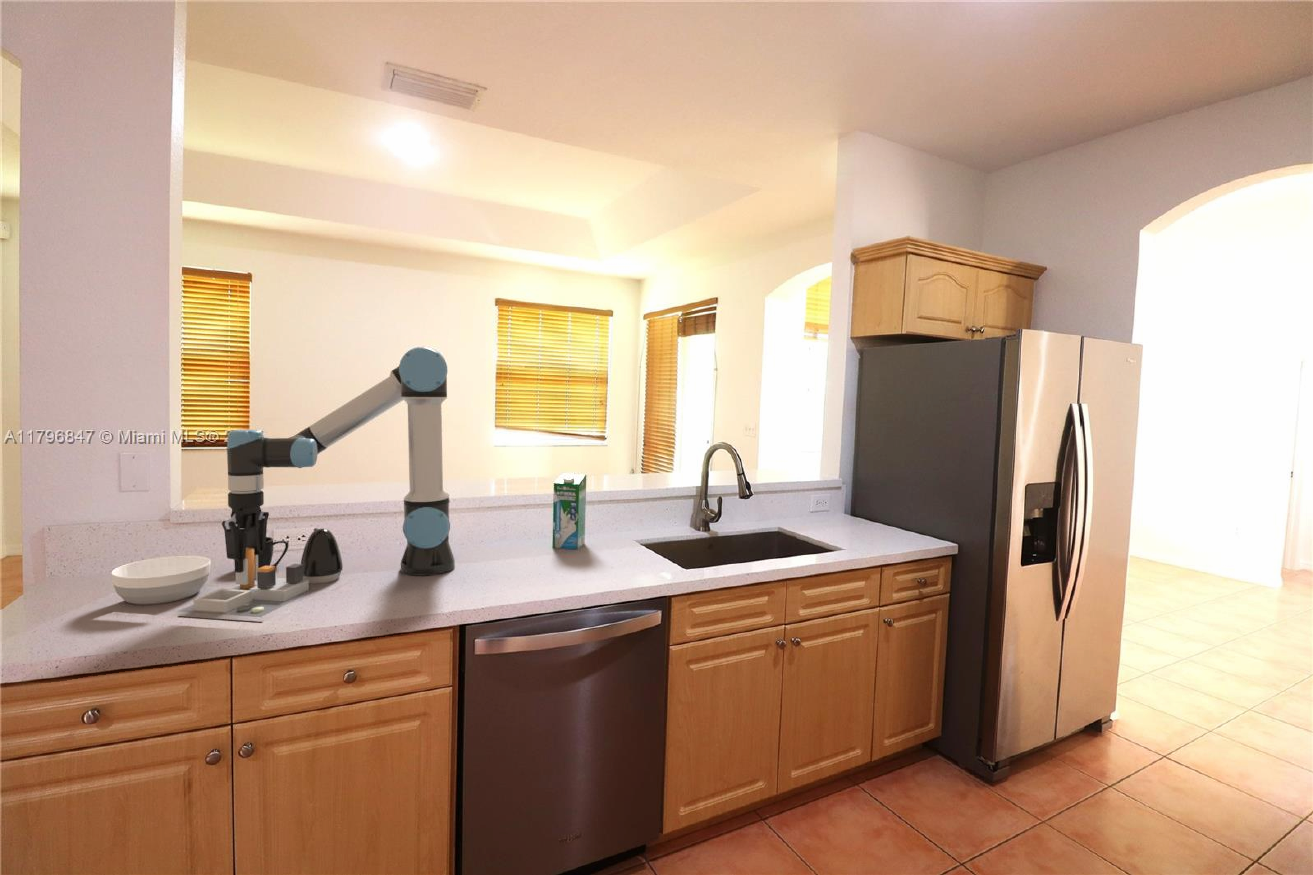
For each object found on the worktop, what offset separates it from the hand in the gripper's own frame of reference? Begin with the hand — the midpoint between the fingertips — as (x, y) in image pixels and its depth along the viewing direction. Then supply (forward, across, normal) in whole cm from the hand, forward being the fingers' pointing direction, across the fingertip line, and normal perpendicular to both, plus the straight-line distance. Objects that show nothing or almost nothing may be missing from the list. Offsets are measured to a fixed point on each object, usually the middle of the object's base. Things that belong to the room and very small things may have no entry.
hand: (247, 581), depth 157 cm
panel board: (+3, +8, +7) cm, 11 cm away
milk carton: (+3, -65, +69) cm, 95 cm away
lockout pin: (+2, 0, 0) cm, 2 cm away
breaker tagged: (-1, +6, +10) cm, 12 cm away
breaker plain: (-1, +1, +14) cm, 14 cm away
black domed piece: (+3, -10, +13) cm, 17 cm away
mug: (+3, -16, -8) cm, 19 cm away
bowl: (+3, +8, -15) cm, 18 cm away
